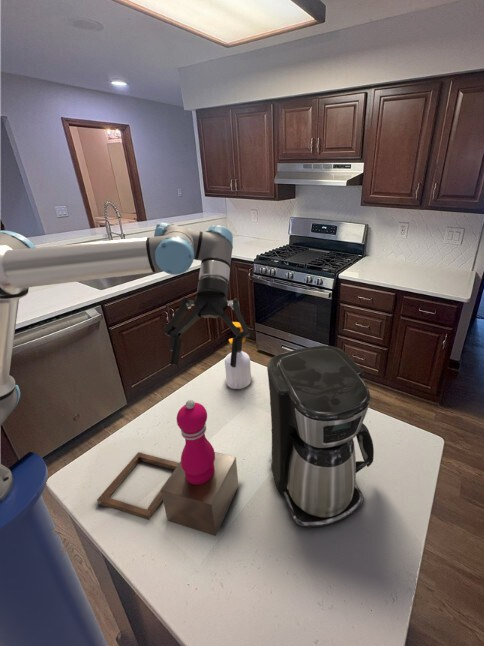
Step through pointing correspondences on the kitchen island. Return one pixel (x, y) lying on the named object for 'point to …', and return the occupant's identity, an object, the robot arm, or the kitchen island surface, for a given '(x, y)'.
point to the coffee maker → (318, 432)
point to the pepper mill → (195, 443)
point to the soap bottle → (238, 367)
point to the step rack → (184, 494)
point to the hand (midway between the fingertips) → (203, 366)
